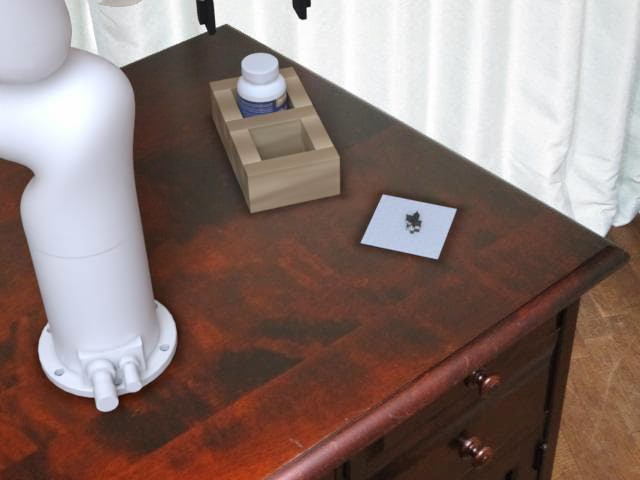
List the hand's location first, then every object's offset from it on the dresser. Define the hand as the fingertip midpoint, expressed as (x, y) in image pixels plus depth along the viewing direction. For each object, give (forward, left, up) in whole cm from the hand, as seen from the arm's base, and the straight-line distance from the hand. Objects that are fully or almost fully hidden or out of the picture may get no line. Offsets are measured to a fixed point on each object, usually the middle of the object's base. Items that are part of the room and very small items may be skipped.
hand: (255, 21), depth 119 cm
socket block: (-4, 0, -15) cm, 15 cm away
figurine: (-19, -10, -15) cm, 27 cm away
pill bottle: (0, 0, -15) cm, 15 cm away
